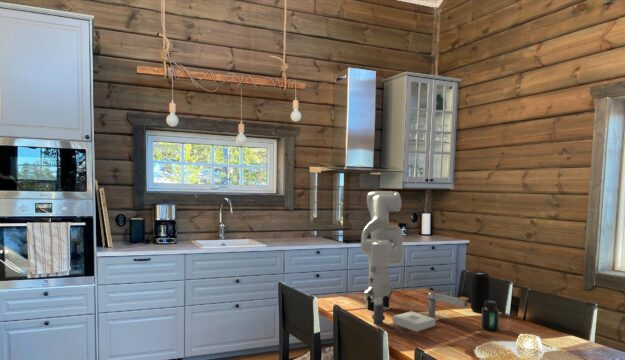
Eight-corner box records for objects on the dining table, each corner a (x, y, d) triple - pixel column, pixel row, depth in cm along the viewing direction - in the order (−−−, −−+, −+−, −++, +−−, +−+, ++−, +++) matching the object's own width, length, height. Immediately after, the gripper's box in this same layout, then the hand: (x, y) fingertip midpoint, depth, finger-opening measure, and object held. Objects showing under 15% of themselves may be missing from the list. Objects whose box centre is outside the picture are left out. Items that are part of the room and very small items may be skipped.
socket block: (392, 325, 182) (393, 302, 183) (422, 316, 196) (423, 295, 196) (416, 333, 172) (416, 309, 172) (446, 324, 185) (447, 301, 186)
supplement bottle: (495, 332, 176) (495, 304, 176) (479, 328, 181) (479, 301, 181) (500, 329, 181) (501, 301, 181) (485, 325, 186) (485, 298, 186)
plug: (369, 324, 182) (369, 304, 182) (377, 322, 186) (378, 302, 186) (378, 328, 178) (379, 307, 178) (387, 325, 181) (387, 305, 181)
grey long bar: (465, 307, 176) (465, 299, 176) (426, 298, 189) (426, 290, 190) (468, 305, 179) (469, 298, 179) (430, 296, 192) (430, 289, 192)
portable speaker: (467, 311, 207) (467, 272, 207) (475, 307, 213) (475, 269, 214) (484, 315, 201) (485, 274, 201) (491, 311, 207) (492, 272, 208)
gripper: (371, 273, 174) (370, 314, 174) (398, 269, 185) (397, 307, 184) (359, 270, 180) (358, 309, 180) (386, 266, 190) (385, 303, 190)
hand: (378, 308), depth 182 cm, fingers open, 9 cm apart
